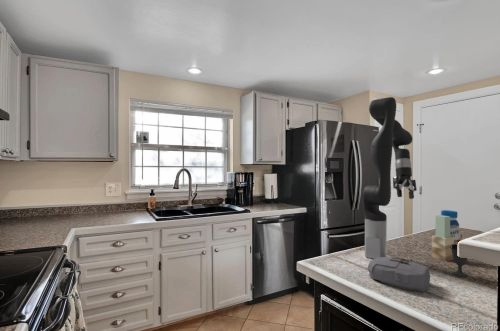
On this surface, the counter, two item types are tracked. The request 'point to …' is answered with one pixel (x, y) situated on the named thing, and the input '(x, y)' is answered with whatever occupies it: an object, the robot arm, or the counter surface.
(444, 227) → the sage block
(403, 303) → the counter surface
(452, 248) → the sundae
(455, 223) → the beverage bottle
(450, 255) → the tower bottom
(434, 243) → the tower top
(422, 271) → the grey rounded bag
